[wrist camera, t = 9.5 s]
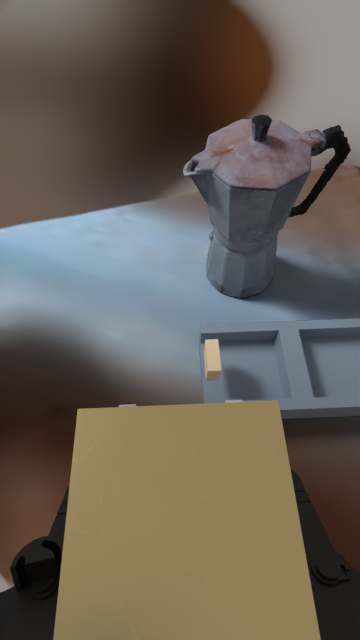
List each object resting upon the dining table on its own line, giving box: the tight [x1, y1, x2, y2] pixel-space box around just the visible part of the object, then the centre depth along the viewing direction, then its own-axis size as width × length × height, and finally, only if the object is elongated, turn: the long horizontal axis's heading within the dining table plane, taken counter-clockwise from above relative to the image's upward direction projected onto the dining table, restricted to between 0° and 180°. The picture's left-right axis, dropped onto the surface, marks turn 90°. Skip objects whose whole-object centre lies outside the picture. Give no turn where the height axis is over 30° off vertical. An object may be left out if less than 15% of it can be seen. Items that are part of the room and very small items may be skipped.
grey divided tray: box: [199, 318, 360, 419], centre depth 32 cm, size 25×9×8 cm, turn 92°
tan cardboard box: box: [53, 400, 321, 640], centre depth 11 cm, size 4×6×14 cm, turn 2°
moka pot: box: [183, 115, 351, 297], centre depth 34 cm, size 10×15×20 cm, turn 107°
